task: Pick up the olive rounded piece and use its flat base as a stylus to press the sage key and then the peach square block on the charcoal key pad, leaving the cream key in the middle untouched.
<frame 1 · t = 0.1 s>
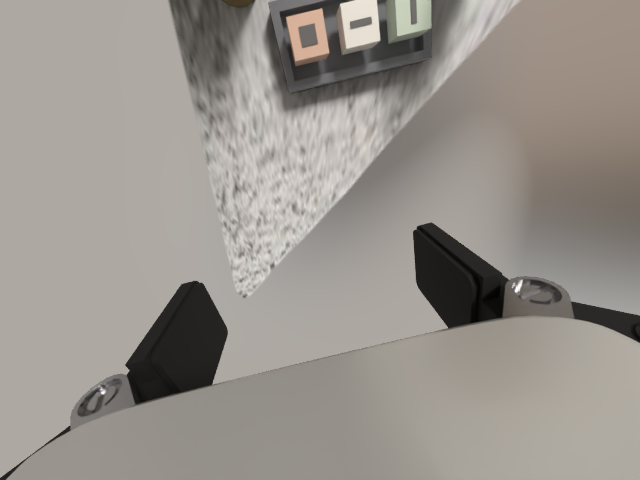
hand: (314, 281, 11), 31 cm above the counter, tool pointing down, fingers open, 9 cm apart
peach square block: (307, 39, 29), point 4 cm above the counter, slide at 0.0 cm
key cream: (357, 27, 29), point 4 cm above the counter, slide at 0.0 cm
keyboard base: (350, 37, 32), on the counter
key sage: (408, 15, 29), point 4 cm above the counter, slide at 0.0 cm
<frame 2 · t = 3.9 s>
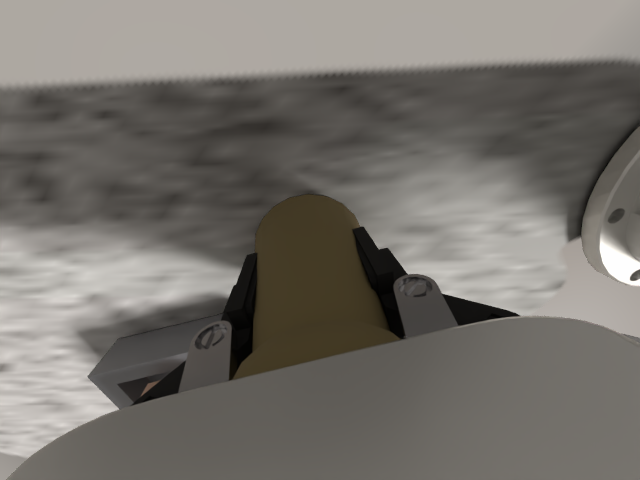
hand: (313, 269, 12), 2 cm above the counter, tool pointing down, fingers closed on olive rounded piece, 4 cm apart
peach square block: (188, 425, 13), point 4 cm above the counter, slide at 0.0 cm
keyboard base: (243, 410, 19), on the counter
olive rounded piece: (309, 245, 14), on the counter, touching gripper
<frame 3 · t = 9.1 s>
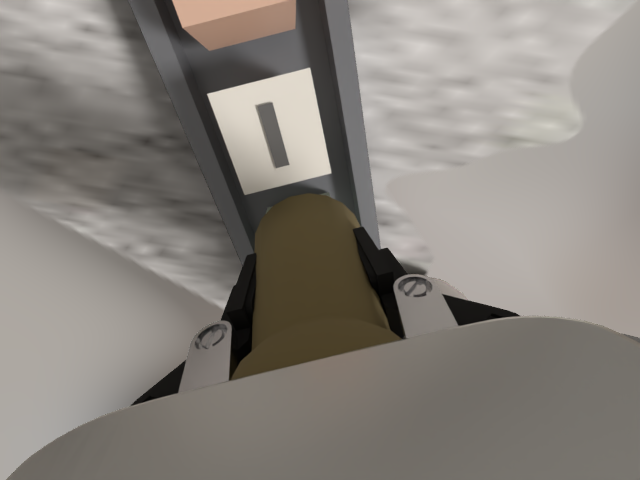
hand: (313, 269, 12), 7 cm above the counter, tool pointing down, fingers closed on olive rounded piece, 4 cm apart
key cream: (276, 135, 11), point 4 cm above the counter, slide at 0.0 cm
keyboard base: (280, 132, 15), on the counter
key sage: (306, 237, 15), point 3 cm above the counter, slide at 1.3 cm
olive rounded piece: (309, 245, 14), point 4 cm above the counter, touching gripper
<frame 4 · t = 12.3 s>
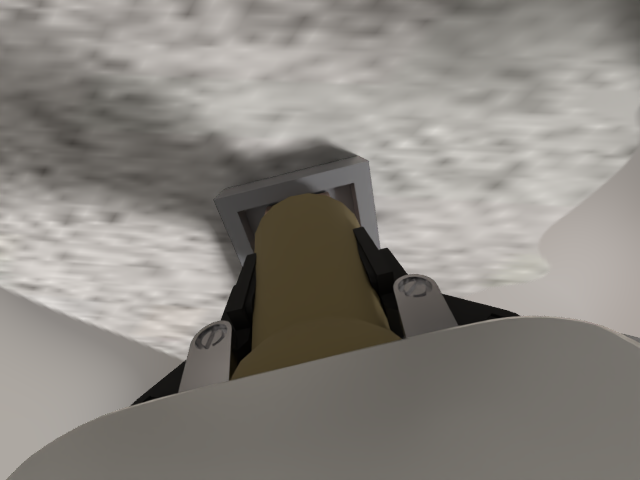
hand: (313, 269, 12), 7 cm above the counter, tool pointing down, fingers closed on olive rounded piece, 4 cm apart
peach square block: (306, 236, 15), point 3 cm above the counter, slide at 1.3 cm, touching olive rounded piece
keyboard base: (322, 287, 20), on the counter
olive rounded piece: (309, 244, 14), point 4 cm above the counter, touching gripper, peach square block
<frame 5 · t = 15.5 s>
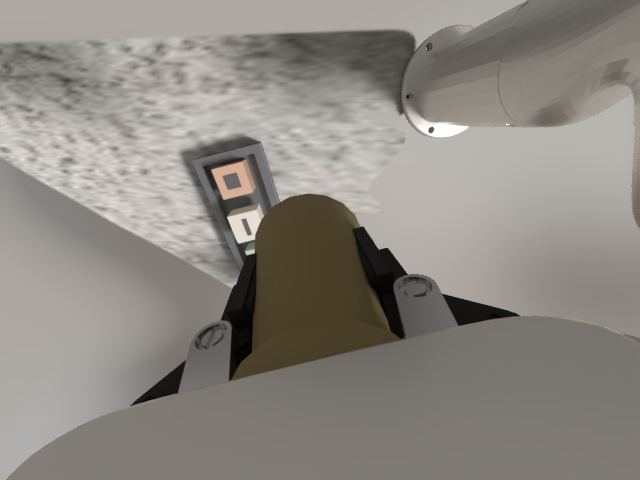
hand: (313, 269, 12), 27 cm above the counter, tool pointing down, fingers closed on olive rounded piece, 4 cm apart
peach square block: (234, 179, 33), point 3 cm above the counter, slide at 1.3 cm
key cream: (248, 223, 35), point 4 cm above the counter, slide at 0.0 cm
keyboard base: (253, 213, 38), on the counter
key sage: (263, 255, 38), point 3 cm above the counter, slide at 1.4 cm
olive rounded piece: (309, 245, 14), point 25 cm above the counter, touching gripper
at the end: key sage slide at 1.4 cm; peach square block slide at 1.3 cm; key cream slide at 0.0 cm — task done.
